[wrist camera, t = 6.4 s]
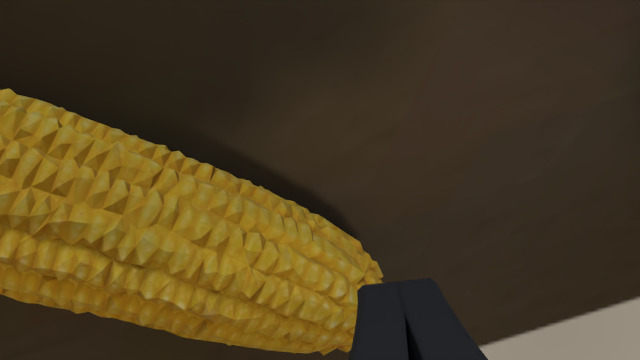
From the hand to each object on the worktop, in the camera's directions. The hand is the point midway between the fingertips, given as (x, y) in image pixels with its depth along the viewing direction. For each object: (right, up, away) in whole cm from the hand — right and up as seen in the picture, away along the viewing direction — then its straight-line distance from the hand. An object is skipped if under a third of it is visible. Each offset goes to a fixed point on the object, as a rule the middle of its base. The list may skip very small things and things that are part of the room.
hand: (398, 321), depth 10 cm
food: (-9, +3, +9) cm, 13 cm away
